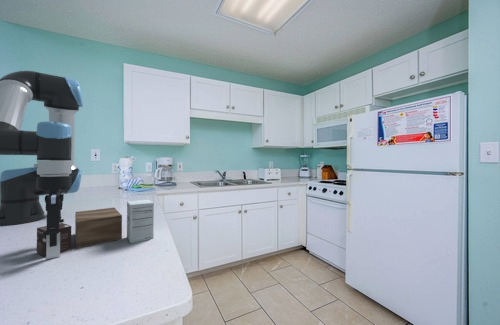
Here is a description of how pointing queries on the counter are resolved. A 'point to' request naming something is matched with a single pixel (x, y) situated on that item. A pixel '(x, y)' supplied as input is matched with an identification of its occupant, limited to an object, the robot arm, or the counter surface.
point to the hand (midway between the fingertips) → (54, 250)
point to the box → (64, 239)
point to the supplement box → (140, 220)
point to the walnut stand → (97, 226)
